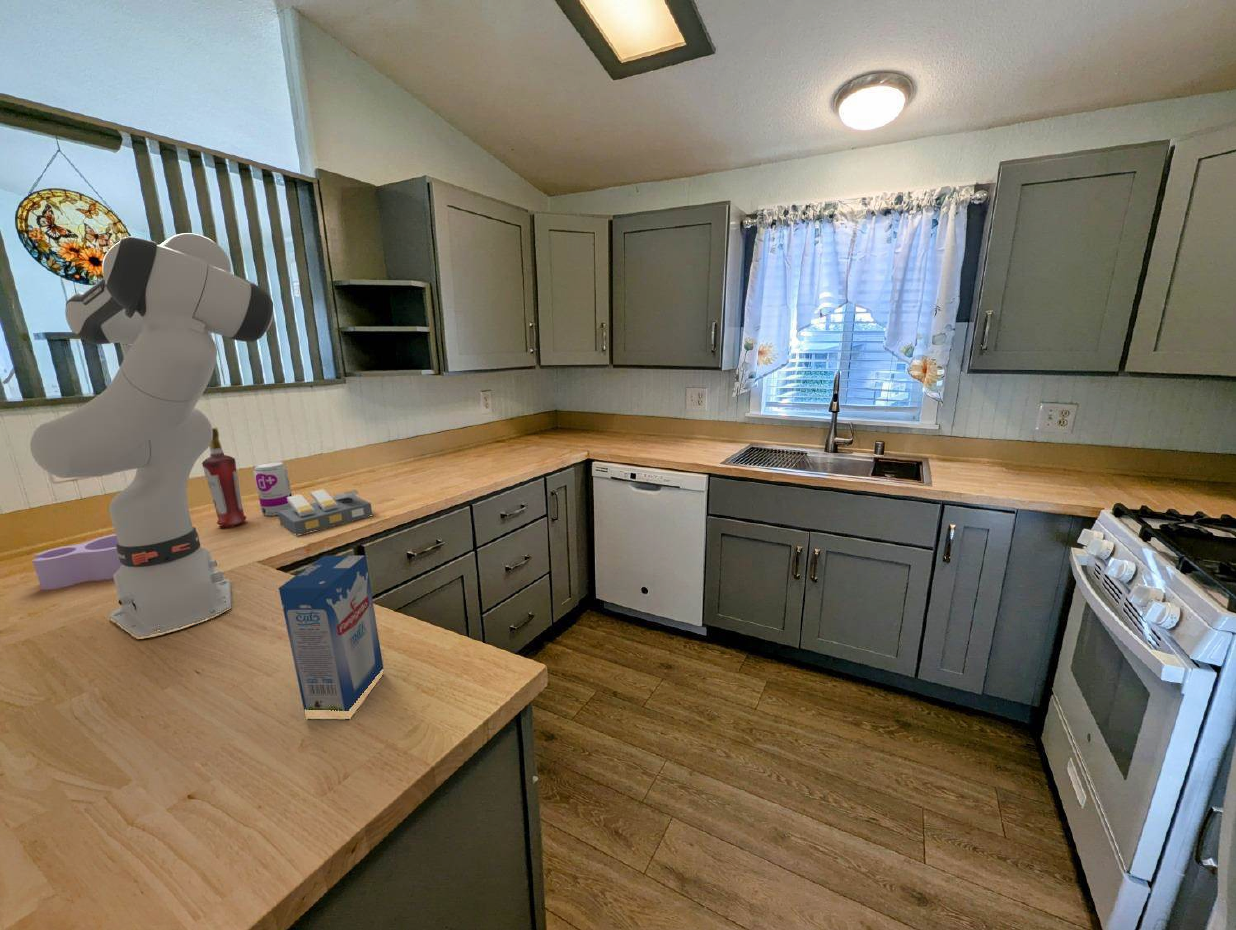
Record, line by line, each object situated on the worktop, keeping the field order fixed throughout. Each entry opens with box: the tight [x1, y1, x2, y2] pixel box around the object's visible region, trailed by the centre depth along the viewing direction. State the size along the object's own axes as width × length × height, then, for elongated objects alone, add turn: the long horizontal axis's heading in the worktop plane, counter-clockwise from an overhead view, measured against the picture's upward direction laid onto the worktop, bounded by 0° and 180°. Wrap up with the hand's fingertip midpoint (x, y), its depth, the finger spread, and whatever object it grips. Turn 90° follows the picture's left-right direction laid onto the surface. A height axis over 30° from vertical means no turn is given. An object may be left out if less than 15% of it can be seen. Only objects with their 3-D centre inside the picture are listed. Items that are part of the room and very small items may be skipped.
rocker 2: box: [310, 488, 338, 511], centre depth 147 cm, size 10×4×1 cm, turn 48°
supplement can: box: [253, 461, 293, 517], centre depth 154 cm, size 8×8×15 cm
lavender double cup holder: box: [31, 533, 122, 591], centre depth 117 cm, size 20×12×7 cm, turn 132°
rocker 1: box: [287, 494, 314, 517], centre depth 142 cm, size 10×4×1 cm, turn 48°
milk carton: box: [278, 554, 384, 711], centre depth 72 cm, size 10×6×20 cm, turn 178°
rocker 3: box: [333, 489, 359, 499], centre depth 151 cm, size 10×4×1 cm, turn 47°
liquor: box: [201, 427, 248, 528], centre depth 143 cm, size 7×7×28 cm
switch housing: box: [278, 495, 373, 536], centre depth 148 cm, size 14×20×5 cm
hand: (164, 416), depth 121 cm, fingers closed
